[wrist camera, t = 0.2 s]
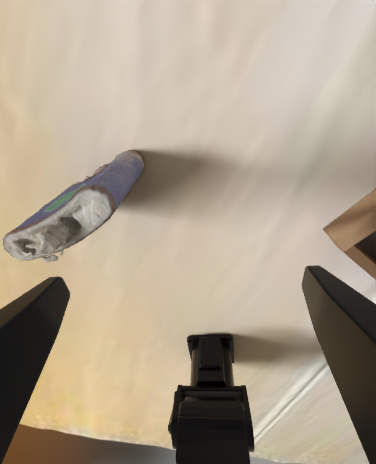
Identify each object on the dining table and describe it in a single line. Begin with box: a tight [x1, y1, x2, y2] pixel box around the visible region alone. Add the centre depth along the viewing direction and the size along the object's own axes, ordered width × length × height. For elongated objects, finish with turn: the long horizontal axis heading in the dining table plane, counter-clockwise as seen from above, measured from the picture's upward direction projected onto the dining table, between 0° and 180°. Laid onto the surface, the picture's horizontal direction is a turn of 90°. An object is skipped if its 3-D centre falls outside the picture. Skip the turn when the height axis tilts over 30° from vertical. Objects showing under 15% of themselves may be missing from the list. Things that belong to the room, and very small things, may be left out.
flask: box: [3, 150, 144, 262], centre depth 18 cm, size 9×3×11 cm, turn 120°
